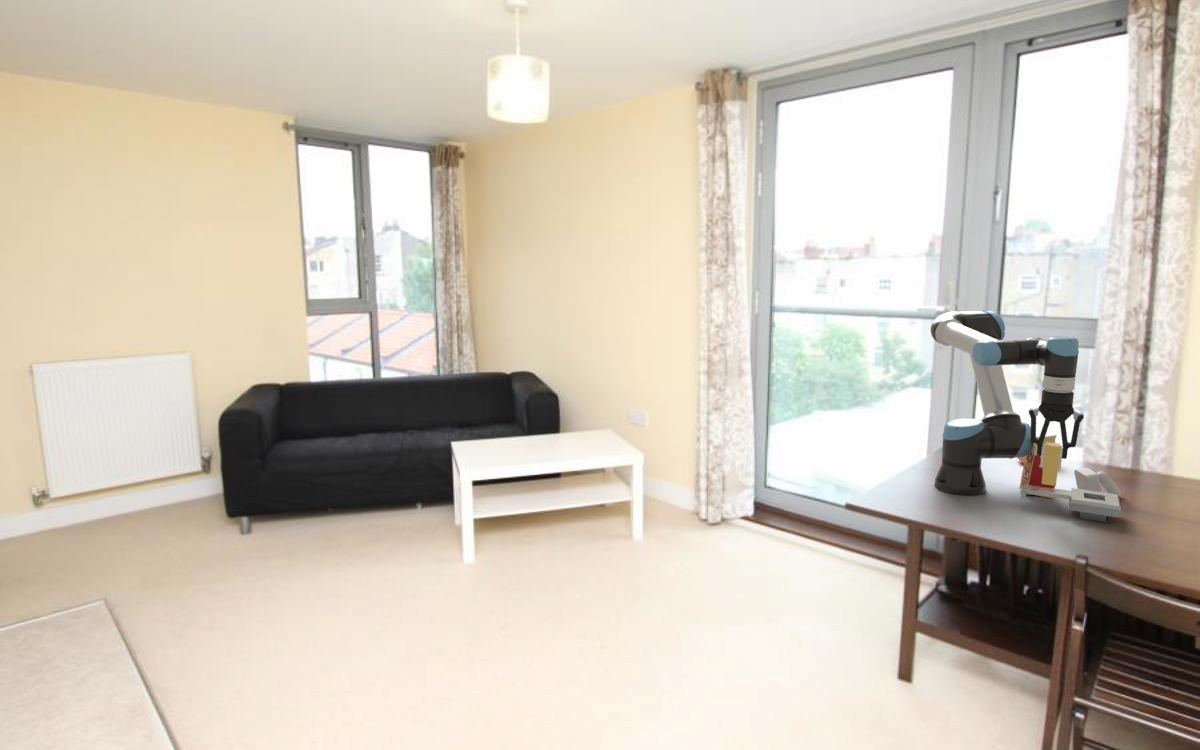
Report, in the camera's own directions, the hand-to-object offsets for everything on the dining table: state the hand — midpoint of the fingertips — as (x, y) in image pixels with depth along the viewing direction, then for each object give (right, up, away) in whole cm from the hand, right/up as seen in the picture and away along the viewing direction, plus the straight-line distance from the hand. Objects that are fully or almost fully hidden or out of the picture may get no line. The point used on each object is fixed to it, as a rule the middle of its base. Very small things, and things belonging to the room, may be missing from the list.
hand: (1050, 467), depth 192 cm
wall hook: (+27, -12, +17) cm, 34 cm away
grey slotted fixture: (+9, -14, +5) cm, 18 cm away
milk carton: (+10, -11, +22) cm, 26 cm away
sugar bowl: (+30, -6, +51) cm, 60 cm away
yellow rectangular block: (0, -5, +1) cm, 5 cm away
